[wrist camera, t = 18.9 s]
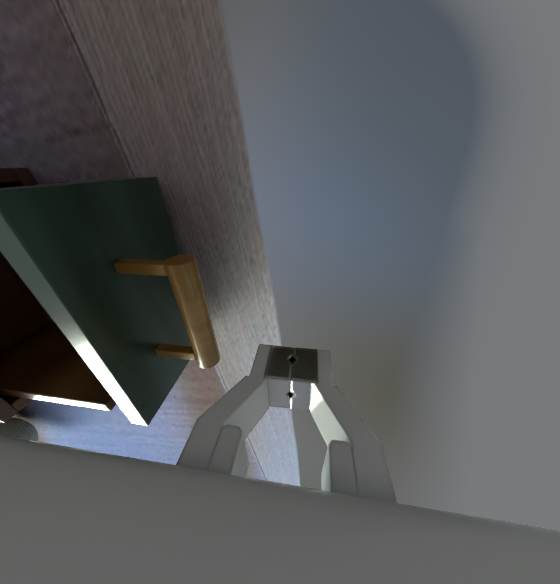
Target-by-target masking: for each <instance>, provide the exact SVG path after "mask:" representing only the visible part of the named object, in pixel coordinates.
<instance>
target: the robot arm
mask: <svg viewBox="0 0 560 584" xmlns="http://www.w3.org/2000/svg"><path fill="white" fill-rule="evenodd" d="M269 406H273V407H283V408H292V409H299V410H306V411H311V414H312V416H313V418H314V420H315V422H316V424H317V426H318V428H319V430H320V432H321V434H322V436H323V438H324V440H325V442H326V444H327V446H328V449H327V453H326V458H325V462H324V466H323V470H322V475H321V479H322V490H317V489H311V488H306V487H300V486H294V485H288V484H282V483H276V482H271V481H265V480H259V479H253V478H247V477H246V475H247V470H248V465H249V461H248V457H247V452H246V448H245V443H244V440H245V439H246V437H247V436H248V435H249V433H250V432H251V431H252V430H253V428H254V427H255V426H256V424H257V423H258V422H259V420H260V419H261V418H262V417H263V415H264V414H265V413H266V411H267V410H268V409H269ZM0 584H560V531H557V530H551V529H545V528H540V527H534V526H528V525H521V524H516V523H510V522H505V521H499V520H493V519H487V518H480V517H475V516H469V515H464V514H458V513H452V512H445V511H440V510H434V509H428V508H423V507H417V506H411V505H405V504H399V503H397V501H396V497H395V493H394V489H393V485H392V481H391V477H390V473H389V469H388V465H387V461H386V457H385V453H384V449H383V445H382V444H381V443H380V442H379V440H378V439H377V437H376V436H375V435H374V434H373V432H372V431H371V430H370V429H369V427H368V426H367V424H366V423H365V422H364V421H363V419H362V418H361V416H360V415H359V414H358V413H357V411H356V410H355V409H354V408H353V406H352V405H351V403H350V402H349V401H348V399H347V398H346V397H345V396H344V394H343V393H342V392H341V390H340V389H339V388H338V386H335V385H333V378H332V367H331V356H330V351H329V350H317V349H306V348H291V347H283V346H274V345H264V344H260V345H259V347H258V350H257V353H256V356H255V360H254V363H253V366H252V370H251V373H250V376H245V377H244V378H243V379H242V380H241V381H240V382H238V383H237V384H236V385H235V386H234V387H233V388H232V389H231V390H229V391H228V392H227V393H226V394H225V395H224V396H223V397H222V398H220V399H219V400H218V401H217V402H216V403H215V404H214V405H213V406H211V407H210V408H209V409H208V410H207V411H206V412H205V413H203V414H202V415H201V416H200V417H199V418H198V419H197V421H196V423H195V425H194V427H193V429H192V431H191V434H190V436H189V438H188V440H187V442H186V445H185V447H184V449H183V451H182V453H181V456H180V458H179V460H178V462H177V464H176V465H171V464H165V463H159V462H153V461H148V460H142V459H136V458H130V457H124V456H118V455H112V454H107V453H101V452H95V451H89V450H83V449H77V448H71V447H66V446H60V445H54V444H48V443H42V442H36V441H30V440H25V439H19V438H13V437H7V436H1V435H0Z"/></svg>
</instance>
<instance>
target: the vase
mask: <svg viewBox="0 0 560 584" xmlns="http://www.w3.org/2000/svg"><path fill="white" fill-rule="evenodd" d="M0 435H1V436H7V437H13V438H19V439H25V440H30V441H36V442H37V441H38V432H37V430H36V428H35V427H34V426H33V425H32V424H30V423H29V422H27V421H25V420H22V419H18V418H13V417H11V418H10V419H9V420H8V421H6V422H5V423H2V422H0Z"/></svg>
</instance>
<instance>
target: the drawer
mask: <svg viewBox="0 0 560 584" xmlns="http://www.w3.org/2000/svg"><path fill="white" fill-rule="evenodd" d="M189 360H197V363H198V365H199V367H201V368H204V369H208V368H212V367H214V366H215V365H216V364H217V363H218V362H219V360H220V354H219V350H218V346H217V342H216V338H215V334H214V330H213V326H212V322H211V318H210V314H209V310H208V306H207V302H206V298H205V294H204V290H203V286H202V282H201V278H200V274H199V270H198V266H197V262H196V258H195V257H194V256H193V255H189V254H181V255H179V252H178V249H177V245H176V242H175V238H174V235H173V231H172V228H171V224H170V221H169V218H168V214H167V211H166V207H165V204H164V200H163V197H162V193H161V190H160V187H159V183H158V180H157V177H130V178H118V179H106V180H93V181H81V182H69V183H57V184H44V185H32V186H20V187H8V188H0V394H2V395H8V396H15V397H22V398H28V399H35V400H41V401H48V402H55V403H61V404H68V405H75V406H81V407H88V408H94V409H101V410H108V411H111V410H112V409H113V408H114V406H115V405H116V404H117V405H118V406H119V407H120V409H121V410H122V411H123V412H124V414H125V415H126V416H127V418H128V419H129V420H130V422H131V423H134V424H140V425H146V426H148V425H149V424H150V422H151V420H152V419H153V417H154V416H155V414H156V412H157V411H158V409H159V408H160V406H161V405H162V403H163V401H164V400H165V398H166V397H167V395H168V394H169V392H170V390H171V389H172V387H173V386H174V384H175V383H176V381H177V379H178V378H179V376H180V375H181V373H182V371H183V370H184V368H185V367H186V365H187V364H188V362H189Z"/></svg>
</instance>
